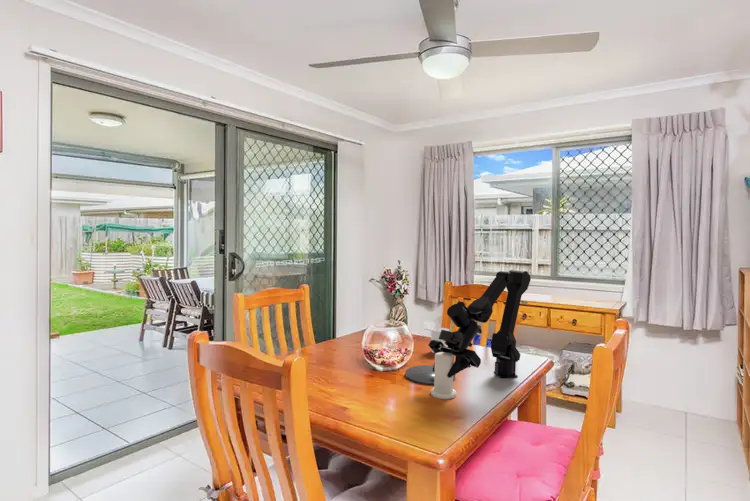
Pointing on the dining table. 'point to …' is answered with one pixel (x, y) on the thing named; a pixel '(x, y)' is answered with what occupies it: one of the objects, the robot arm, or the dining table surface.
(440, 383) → the white flanged cylinder
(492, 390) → the dining table surface
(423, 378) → the hub plate
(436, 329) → the white cup
